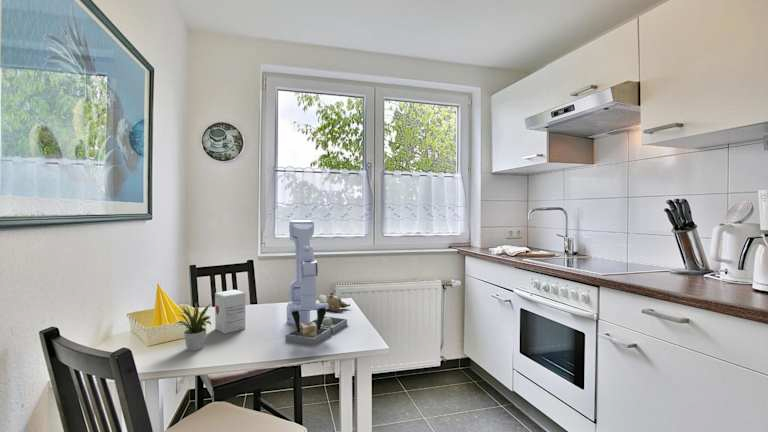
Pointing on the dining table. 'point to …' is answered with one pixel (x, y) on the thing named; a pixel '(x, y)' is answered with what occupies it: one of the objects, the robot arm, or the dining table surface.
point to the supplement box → (229, 311)
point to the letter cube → (309, 330)
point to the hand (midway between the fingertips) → (308, 330)
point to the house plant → (195, 328)
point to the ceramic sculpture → (332, 302)
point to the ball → (327, 322)
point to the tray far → (334, 324)
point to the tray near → (297, 337)
